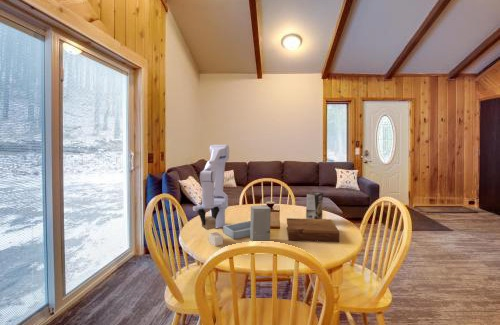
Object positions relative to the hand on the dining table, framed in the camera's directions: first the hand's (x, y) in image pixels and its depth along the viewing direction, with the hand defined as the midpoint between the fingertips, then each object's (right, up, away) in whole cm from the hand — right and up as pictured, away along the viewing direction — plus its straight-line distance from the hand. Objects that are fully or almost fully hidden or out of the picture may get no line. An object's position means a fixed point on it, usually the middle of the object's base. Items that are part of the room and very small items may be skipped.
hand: (208, 223), depth 132 cm
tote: (+17, -6, +8) cm, 19 cm away
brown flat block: (+50, -7, +5) cm, 50 cm away
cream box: (+4, -8, -6) cm, 11 cm away
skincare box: (+24, -7, -3) cm, 26 cm away
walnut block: (0, -2, 0) cm, 2 cm away
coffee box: (+57, -5, +27) cm, 63 cm away
